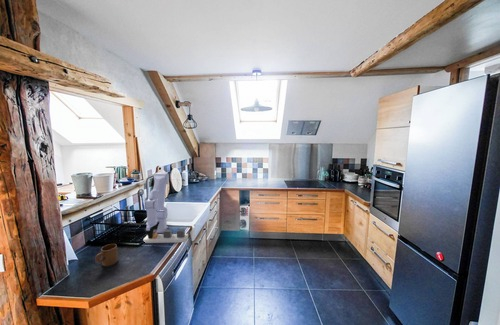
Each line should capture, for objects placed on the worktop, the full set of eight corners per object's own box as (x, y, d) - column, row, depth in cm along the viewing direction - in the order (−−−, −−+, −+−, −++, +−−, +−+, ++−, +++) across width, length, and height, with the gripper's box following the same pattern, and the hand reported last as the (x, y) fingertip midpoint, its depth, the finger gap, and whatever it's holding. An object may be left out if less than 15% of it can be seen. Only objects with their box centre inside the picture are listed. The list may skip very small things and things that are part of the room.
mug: (102, 273, 107) (100, 256, 105) (90, 270, 108) (89, 254, 107) (121, 259, 118) (120, 244, 117) (110, 257, 120) (109, 242, 119)
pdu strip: (147, 237, 143) (147, 228, 142) (188, 237, 145) (187, 227, 144) (143, 243, 136) (142, 233, 135) (185, 242, 138) (185, 232, 137)
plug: (150, 238, 142) (150, 229, 141) (157, 238, 142) (157, 229, 141) (148, 241, 138) (148, 231, 137) (155, 241, 139) (155, 231, 138)
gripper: (150, 212, 145) (151, 230, 147) (140, 221, 130) (142, 241, 132) (160, 212, 145) (161, 230, 147) (152, 221, 131) (153, 240, 133)
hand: (152, 235), depth 140 cm, fingers open, 7 cm apart
